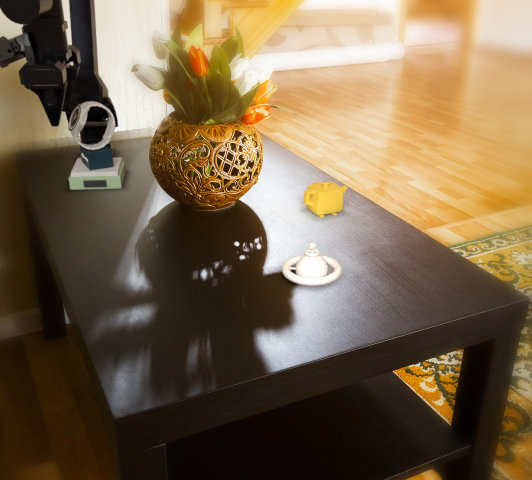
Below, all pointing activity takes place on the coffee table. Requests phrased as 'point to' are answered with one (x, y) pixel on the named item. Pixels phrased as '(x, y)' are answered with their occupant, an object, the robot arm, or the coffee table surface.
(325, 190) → the teapot
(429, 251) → the coffee table surface
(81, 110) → the watch
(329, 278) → the ring around a ball
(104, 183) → the scale
